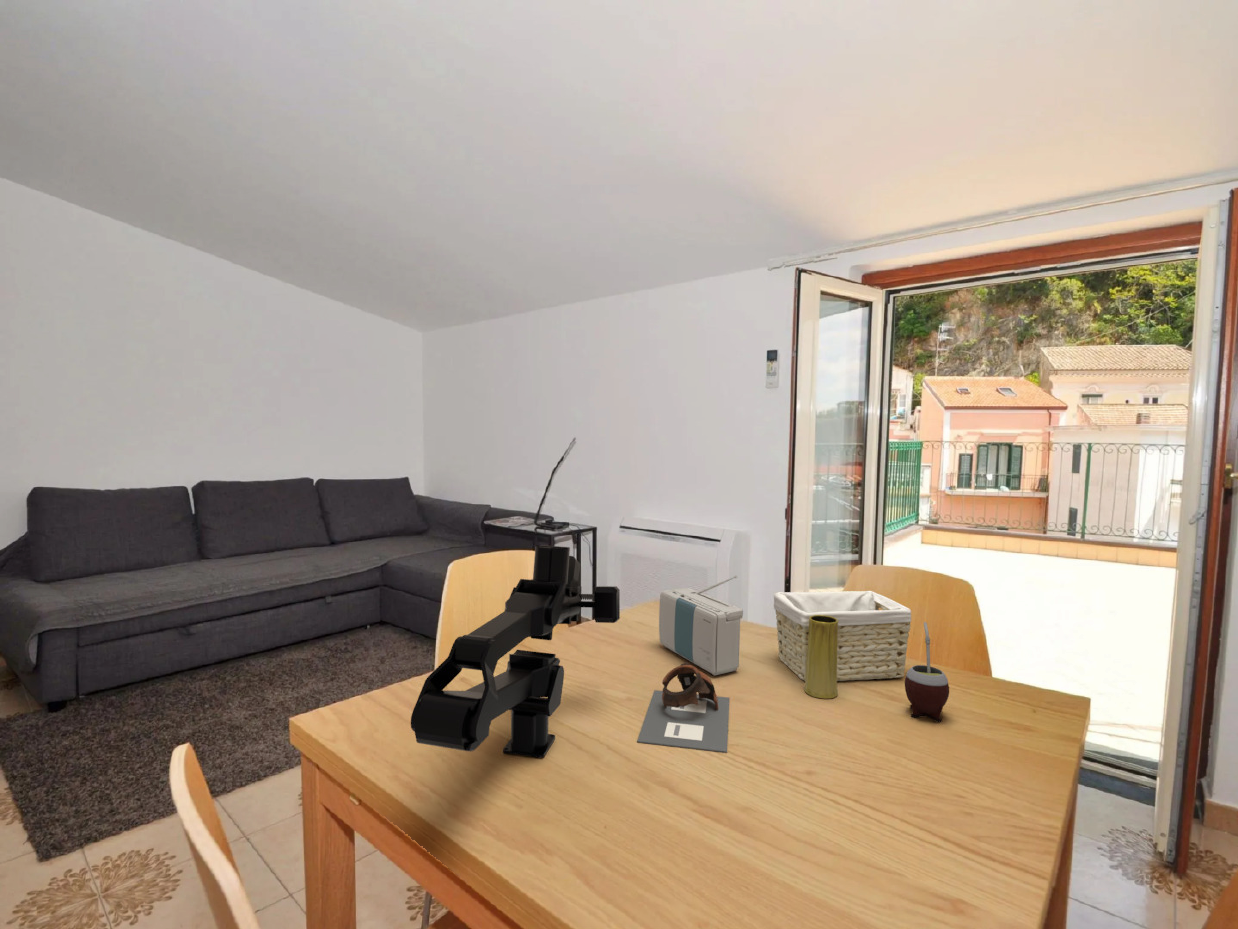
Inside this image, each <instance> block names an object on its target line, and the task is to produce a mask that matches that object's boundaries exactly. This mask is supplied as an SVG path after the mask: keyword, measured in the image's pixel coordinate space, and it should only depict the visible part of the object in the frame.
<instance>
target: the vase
mask: <svg viewBox="0 0 1238 929" xmlns="http://www.w3.org/2000/svg"><path fill="white" fill-rule="evenodd" d="M837 641H838V620H837V619H836V618H834V617H831V616H827V615H813V616H810V617H809V634H808V650H807V661H806V673H805V681H804V687H803V690H804V692H805V693H806V694H807V695H809V697H810V696H811V697H813V698H816V699H821V700H822V699H823V700H827V699H834V698H836V697H837V696H838V687H837V686H838V681H837Z"/></svg>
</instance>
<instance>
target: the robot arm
mask: <svg viewBox="0 0 1238 929" xmlns="http://www.w3.org/2000/svg"><path fill="white" fill-rule="evenodd" d="M570 548H571V547H570V546H559V545H558V546H555V545H543V544H541V545H538V544H537V545H535V547H534V561H533V571H532V579H526V578H525V579H524V578H520V579H519V580H518V581H519V582H517V585H516V586H515V587H513V589H512V590H511V592H510V595H509V598H508V599H507V600H506V601H505V602H504V611H503V612H501V613H500V614H498V615H497V616H495V617H494V618H492V619H490V620H489V621H487V622H486V623H484V624H482V625H480V626H479V627H478V628H476V629H474V630H473V631H471V632H470V633H468V634H463V635H462V636H457V637H456V638H455V640H454V642H453V643H452V646H451V648H450V651H449V653H448V656H447V658H446V659H444V661H442V662H441V663H440V665H438V667H437V666H436V668H435V669H434V671H432V672H431V673H430V674H429V675H428V676H427V677H426V679H425V680H424V683H423V685H422V688H421V690H420V693H419V695H418V698H417V700H416V701H415V702H416V703H415V705H414V707H413V710H412V712H411V716H410V717H411V718H410V728H411V730H412V731H413V732H414V735H415V740H416V743H417V744H421V745H428V746H434V747H440V748H445V749H452V750H459V751H465V752H473V751H475V750H476V749H478V748H479V747H480V746H481V744H482V743H483V742H484V741H485V740H486V739H487V738H488V737H489V735H490V726H491V723H492V721H493V720H495V719H496V718H498V717H500V716H501V715H503V714H505V713H506V712H508V711H511V712H510V720H511V721H510V723H511V724H510V739H509V740H508V742H507V743H506V744H505V745H504V747H503V748H502V753H503V754H508V755H517V756H523V757H533V758H541V759H542V758H544V757H545V756H546V755H547V753H548V751H549V750H550V748H551V746H552V744H553V743H554V741H555V740H556V735H555V734H551V733H549V718H550V717H551V716H552V715H553V714H554V713H555V712H556V710H557V709H558V708H559V706H560V705H561V703H562V696H563V687H564V686H563V685H564V680H565V678H564V677H565V668H564V666H563V665H560V663H561V660H560V659H559V657H556V656H557V655H556V653H551V652H541V651H532V650H523V649H516V651H515V652H513V653H509V652H510V651H511V650H513V649H514V648H515V647H517V646H518V645H519V644H520V643H522V642H523V641H525V640H526V639H528V638H531V639H535V640H543V641H552V640H553V631H554V630H553V629H554V627H557V625H559V624H560V625H571V624H572V622H579V619H580V618H579V614H580V612H581V609H582V608H591V609H592V608H594V610H593V611H594V612H593V614H594V615H593V616H594V617H593V618H594V622H595V623H601V624H602V623H604V624H615V623H617V622H618V621H619V620H620V618H621V617H620V611H621V610H620V606H621V605H620V603H621V602H620V598H621V596H620V594H621V593H620V589H619V587H618V586H613V585H610V586H607V585H605V586H604V585H603V586H602V585H600V586H599V585H598V586H595V589H594V592H593V593H582V586H581V585H580V586H579V580H580V579H579V577H580V571H581V563H580V562H579V561H578V560H577V559H576V557H574V556H573V555H570V554H571V553H570V551H571V549H570ZM590 600H591V601H590ZM508 653H509V654H508ZM507 654H508V655H509V656H508V661H507V668H506V670H505V671H503V672H501V673H500V674H497V675H494V673H495V670H496V668H497V664H498V663H499V662H498V661H499V660H500V659H502V658H503V657H504V656H505V655H507ZM463 669H466V670H474V671H480V672H481V673H482V678H483V682H481V683H478V684H476V685H474V686H471V687H470V688H468V689H466V690H447V689H446V690H444V689H445V688H446V687H448V685H449V684H450V683H451V682H452V681H453V680H455V678H456V677H457V676H458V675H459V674H460V673H461V671H462V670H463Z"/></svg>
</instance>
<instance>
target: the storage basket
mask: <svg viewBox="0 0 1238 929" xmlns="http://www.w3.org/2000/svg"><path fill="white" fill-rule="evenodd" d="M773 609H774V610H775V614H776V618H775V619H776V630H777V642H778V656H779V660H780V661H781V662H783V663H784V665H786V666H787V668H788V669H789V670H791V672H793V673H794V674H795V675H796V676H798V678H799V679H800V680H803V682H805V673H806V661H807V650H808V634H809V617H810V616H813V615H827V616H831V617H834V618H836V619H837V620H838V641H837V682H844V681H845V682H846V681H855V680H856V681H857V680H859V681H865V680H867V681H868V680H874V679H876V680H881V679H893V678H896V679H897V678H903V677H905V669H906V659H907V650H908V643H909V642H908V639H909V636H910V633H909V632H910V630H911V622H912V610H911V609H910V608H909V607H907V606H904V605H903V604H901V603H900V602H897V601H895V600H894V599H891V598H889V597H886V596H885V595H882V594H879V593H877V592H875V591H873V590H865V591H864V590H863V591H861V590H860V591H858V590H856V591H855V590H853V591H851V590H848V591H847V590H845V591H844V590H843V591H841V590H840V591H803V592H802V591H801V592H798V591H793V592H792V591H791V592H790V591H789V592H788V591H787V592H785V591H779V592H775V593H774V595H773ZM881 609H882V610H881Z"/></svg>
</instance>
